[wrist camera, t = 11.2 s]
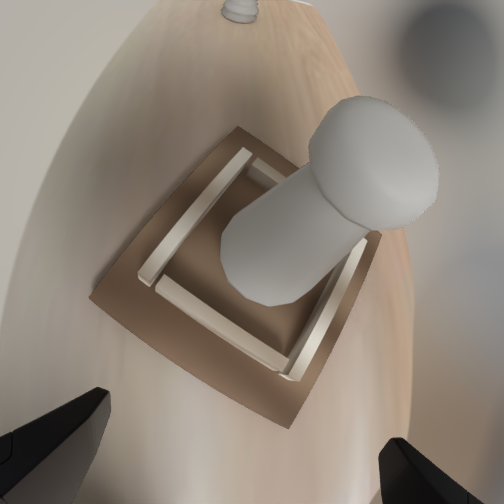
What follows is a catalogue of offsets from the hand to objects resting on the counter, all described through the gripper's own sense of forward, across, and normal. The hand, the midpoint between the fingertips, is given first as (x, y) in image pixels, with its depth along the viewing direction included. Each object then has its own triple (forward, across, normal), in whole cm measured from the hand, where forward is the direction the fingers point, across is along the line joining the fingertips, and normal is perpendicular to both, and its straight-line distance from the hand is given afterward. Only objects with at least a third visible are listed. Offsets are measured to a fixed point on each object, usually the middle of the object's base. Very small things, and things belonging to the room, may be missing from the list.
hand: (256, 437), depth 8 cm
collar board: (+13, 0, -1) cm, 13 cm away
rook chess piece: (+30, +9, -26) cm, 40 cm away
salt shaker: (+12, 0, -1) cm, 12 cm away
